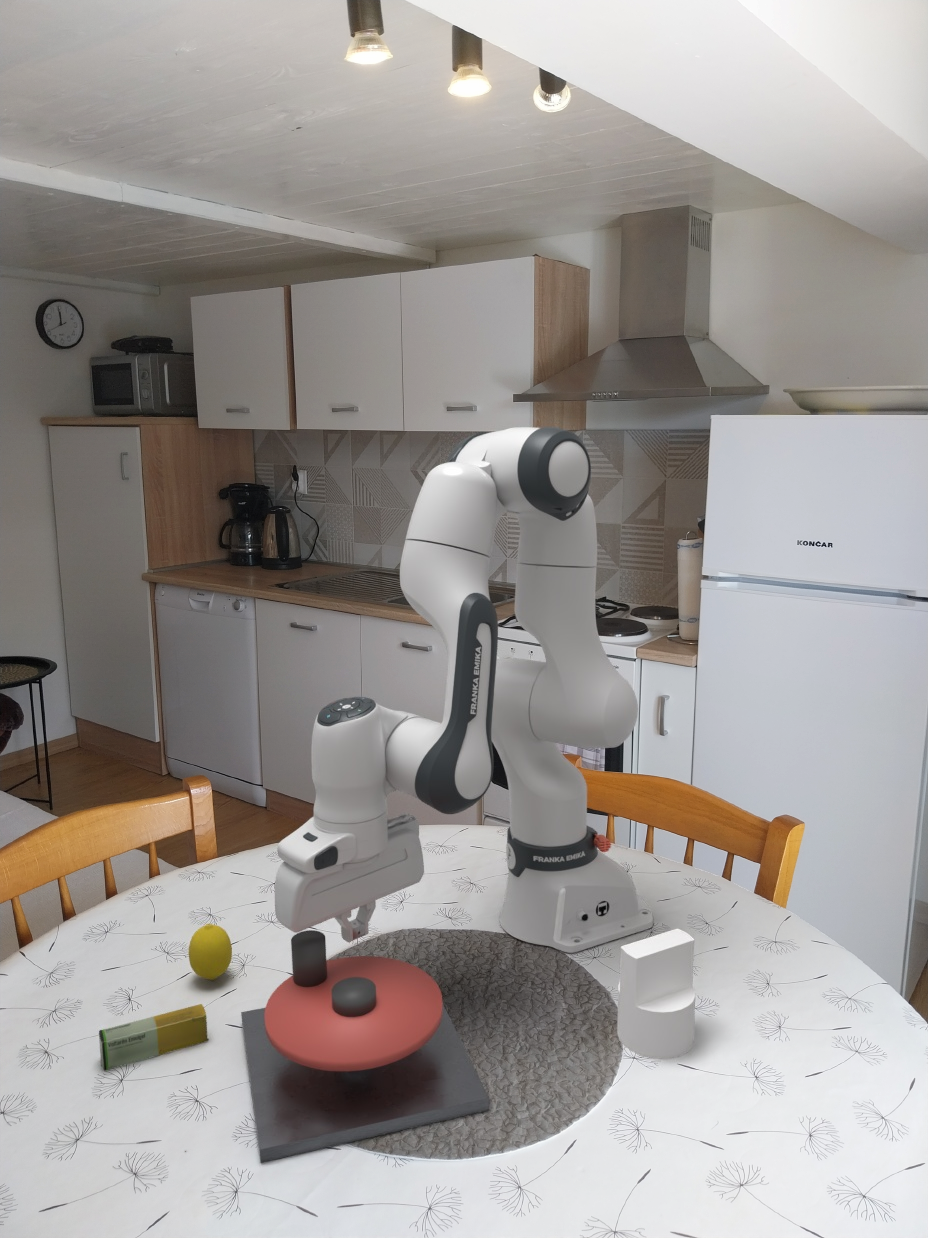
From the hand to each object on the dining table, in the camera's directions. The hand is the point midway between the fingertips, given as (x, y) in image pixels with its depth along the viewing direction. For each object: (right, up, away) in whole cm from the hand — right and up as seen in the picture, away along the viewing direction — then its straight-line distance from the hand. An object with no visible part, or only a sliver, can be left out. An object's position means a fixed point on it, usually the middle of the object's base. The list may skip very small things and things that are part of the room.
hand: (355, 937), depth 118 cm
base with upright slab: (+36, -11, -4) cm, 38 cm away
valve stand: (+1, -12, -9) cm, 15 cm away
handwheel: (+1, -5, -10) cm, 11 cm away
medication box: (-23, -12, -6) cm, 26 cm away
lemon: (-20, -9, +9) cm, 23 cm away
